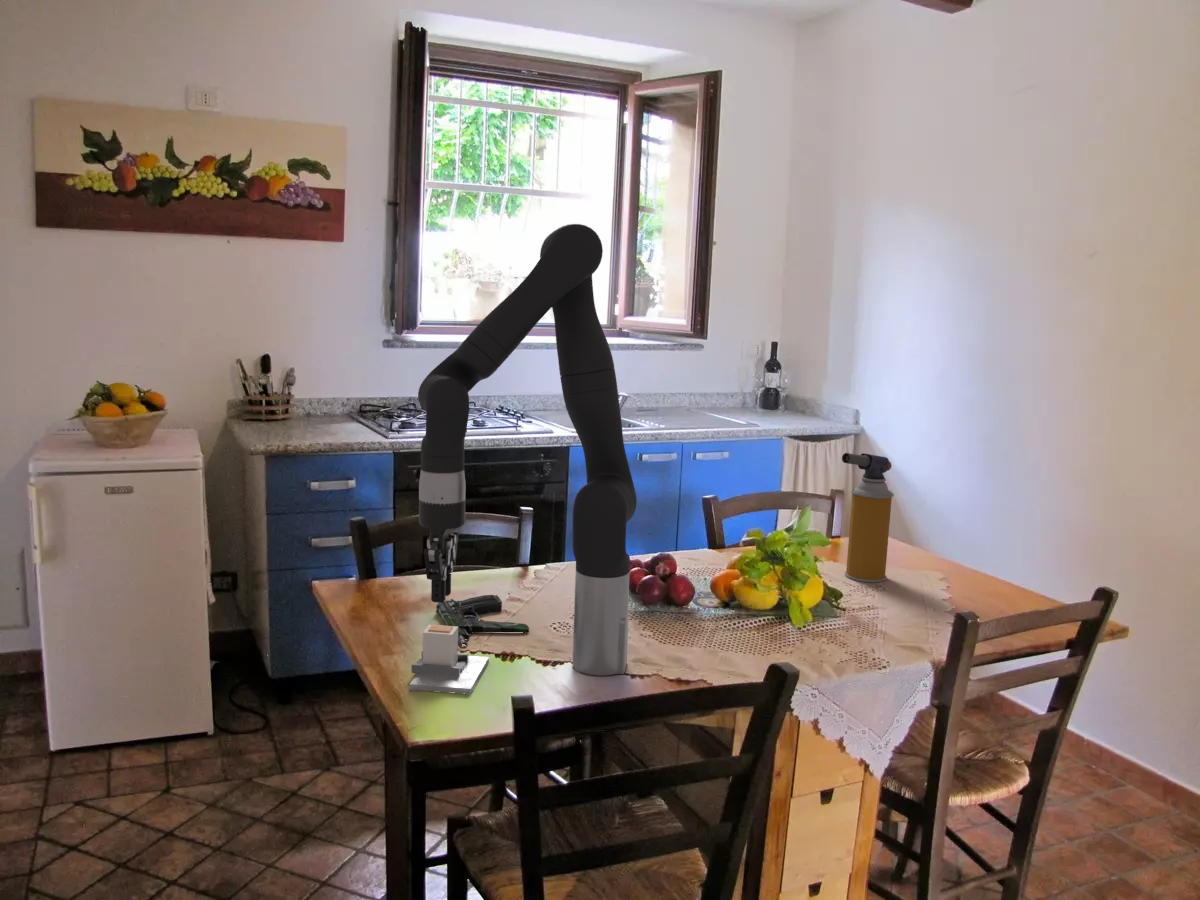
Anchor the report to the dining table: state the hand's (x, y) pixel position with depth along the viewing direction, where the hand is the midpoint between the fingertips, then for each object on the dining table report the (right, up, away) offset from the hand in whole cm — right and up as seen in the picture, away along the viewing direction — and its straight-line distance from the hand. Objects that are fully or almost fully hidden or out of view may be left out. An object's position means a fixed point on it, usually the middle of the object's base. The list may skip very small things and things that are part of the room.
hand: (441, 597), depth 172 cm
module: (0, -11, +2) cm, 12 cm away
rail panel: (+1, -13, +1) cm, 13 cm away
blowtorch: (+86, -5, +66) cm, 108 cm away
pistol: (+4, -10, +27) cm, 29 cm away
